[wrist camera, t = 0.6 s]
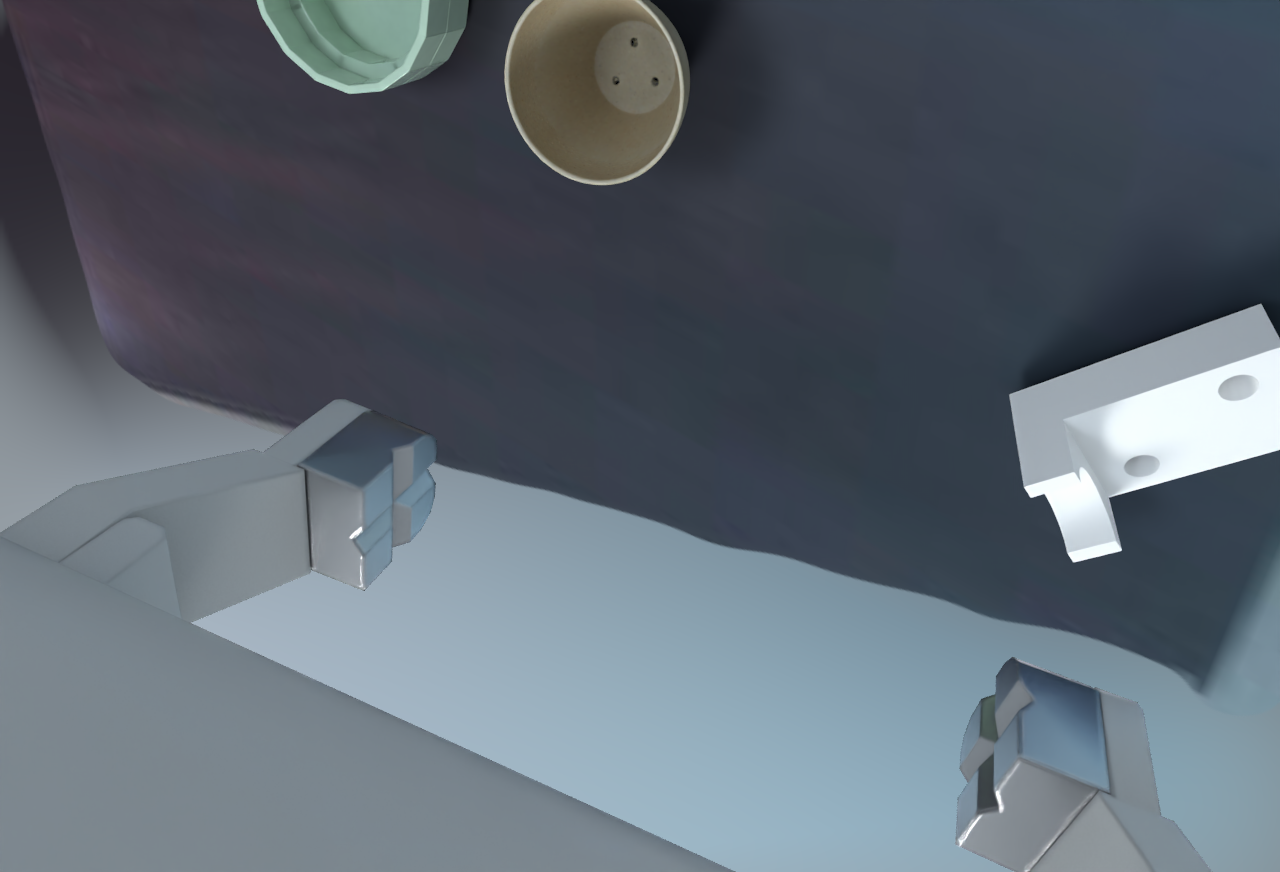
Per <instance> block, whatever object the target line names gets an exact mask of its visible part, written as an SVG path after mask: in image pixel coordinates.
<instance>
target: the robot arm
mask: <svg viewBox="0 0 1280 872" xmlns="http://www.w3.org/2000/svg"><path fill="white" fill-rule="evenodd" d="M436 459H437V440H436V439H435V438H434V437H433V435H432V434H430V433H427V432H425V431H422V430H420V429H417V428H415V427H413V426H410V425H408V424H405V423H403V422H400V421H398V420H396V419H393V418H391V417H388V416H386V415H383V414H381V413H379V412H376V411H374V410H373V411H371V410H369V409H367V408H365V407H362V406H360V405H357V404H355V403H353V402H350V401H348V400H345V399H339V400H334V401H332V402H331V403H329V404H328V405H326V406H325V407H324V408H322V409H321V410H320V411H318V412H317V413H316V414H314V415H313V416H312V417H310V418H309V419H307V420H306V421H305V422H303V423H302V424H301V425H299V426H298V427H297V428H295V429H294V430H293V431H291V432H290V433H288V434H287V435H286V436H284V437H283V438H282V439H280V440H279V441H278V442H276V443H275V444H274V445H272V446H271V447H270V448H268V449H267V450H265V451H264V452H263V453H262V452H260V451H257V450H255V449H252V450H247V451H242V452H237V453H232V454H227V455H222V456H217V457H213V458H208V459H203V460H198V461H193V462H189V463H183V464H178V465H174V466H169V467H164V468H159V469H154V470H149V471H145V472H140V473H135V474H130V475H125V476H120V477H115V478H110V479H105V480H101V481H96V482H91V483H86V484H82V485H76V486H74V487H72V488H71V489H69V490H68V491H66V492H64V493H63V494H61V495H60V496H58V497H56V498H55V499H53V500H52V501H50V502H49V503H47V504H45V505H44V506H42V507H40V508H39V509H37V510H36V511H34V512H32V513H31V514H30V515H28V516H26V517H25V518H23V519H21V520H20V521H18V522H17V523H15V524H14V525H12V526H10V527H9V528H7V529H5V530H4V531H2V532H1V533H0V872H735V871H732V870H730V869H728V868H726V867H724V866H721V865H719V864H717V863H715V862H713V861H710V860H708V859H706V858H704V857H702V856H700V855H697V854H695V853H693V852H691V851H689V850H686V849H684V848H682V847H680V846H677V845H676V844H673V843H671V842H669V841H666V840H664V839H662V838H660V837H658V836H656V835H654V834H651V833H649V832H647V831H645V830H643V829H640V828H638V827H636V826H634V825H632V824H630V823H627V822H625V821H623V820H621V819H618V818H616V817H614V816H612V815H610V814H608V813H605V812H603V811H601V810H599V809H597V808H594V807H592V806H590V805H588V804H586V803H583V802H581V801H579V800H577V799H575V798H572V797H570V796H568V795H566V794H564V793H562V792H559V791H557V790H555V789H553V788H551V787H549V786H546V785H544V784H542V783H540V782H538V781H535V780H533V779H531V778H529V777H526V776H524V775H522V774H520V773H518V772H516V771H514V770H511V769H509V768H507V767H505V766H502V765H500V764H498V763H496V762H494V761H492V760H489V759H487V758H485V757H483V756H481V755H478V754H476V753H474V752H472V751H470V750H467V749H465V748H463V747H461V746H459V745H457V744H454V743H452V742H450V741H448V740H445V739H443V738H441V737H439V736H437V735H434V734H432V733H430V732H428V731H426V730H424V729H422V728H419V727H417V726H415V725H413V724H411V723H408V722H406V721H404V720H402V719H400V718H397V717H395V716H393V715H391V714H389V713H386V712H384V711H382V710H380V709H378V708H375V707H373V706H371V705H369V704H367V703H365V702H362V701H360V700H358V699H356V698H353V697H351V696H349V695H347V694H345V693H342V692H341V691H338V690H336V689H334V688H332V687H329V686H327V685H325V684H323V683H321V682H319V681H316V680H314V679H312V678H310V677H308V676H305V675H303V674H301V673H299V672H297V671H295V670H292V669H290V668H288V667H286V666H283V665H281V664H279V663H277V662H275V661H273V660H270V659H268V658H266V657H264V656H261V655H259V654H257V653H255V652H253V651H251V650H248V649H246V648H244V647H242V646H240V645H237V644H235V643H233V642H231V641H229V640H227V639H224V638H222V637H220V636H218V635H216V634H213V633H211V632H209V631H207V630H205V629H202V628H200V627H198V626H196V625H193V624H192V623H191V622H193V621H196V620H198V619H201V618H203V617H206V616H208V615H211V614H213V613H215V612H218V611H220V610H223V609H225V608H227V607H230V606H232V605H235V604H237V603H239V602H242V601H244V600H247V599H249V598H252V597H254V596H256V595H259V594H261V593H264V592H266V591H268V590H271V589H273V588H276V587H278V586H281V585H283V584H285V583H288V582H290V581H293V580H295V579H298V578H300V577H302V576H305V575H307V574H309V573H310V572H311V570H312V571H315V572H318V573H320V574H323V575H325V576H328V577H330V578H333V579H335V580H338V581H341V582H343V583H345V584H348V585H351V586H353V587H356V588H358V589H361V590H363V591H365V589H366V588H367V587H368V586H369V585H370V584H371V583H372V582H373V581H374V580H375V579H376V578H377V577H378V576H379V575H380V574H381V573H382V571H383V570H384V569H385V568H386V567H387V566H388V565H389V564H390V563H391V562H392V547H396V546H399V545H402V544H405V543H408V542H410V541H411V540H412V539H413V538H414V537H415V536H416V534H417V533H418V532H419V531H420V530H421V529H422V527H423V525H424V523H425V521H426V519H427V518H428V516H429V514H430V512H431V508H432V505H433V501H434V497H435V484H436V483H435V482H434V480H433V478H432V476H431V474H430V473H429V470H428V469H427V468H428V467H429V466H430V465H431V464H432V463H433V462H434V461H435V460H436ZM960 770H961V772H962V774H963V775H964V777H965V779H966V780H967V782H968V784H967V785H966V787H965V788H964V790H963V791H962V793H961V794H960V796H959V797H958V803H957V823H956V842H955V844H956V845H958V846H960V847H962V848H964V849H966V850H969V851H971V852H973V853H975V854H977V855H979V856H982V857H984V858H986V859H988V860H990V861H993V862H995V863H997V864H999V865H1001V866H1004V867H1006V868H1008V869H1010V870H1012V871H1014V872H1212V871H1211V869H1210V868H1209V867H1208V865H1207V864H1206V863H1205V862H1204V860H1203V859H1202V858H1201V856H1200V855H1199V854H1198V852H1197V851H1196V850H1195V848H1194V847H1193V846H1192V844H1191V843H1190V842H1189V840H1188V839H1187V838H1186V836H1185V835H1184V834H1183V832H1182V831H1181V830H1180V829H1179V827H1178V826H1177V824H1176V823H1175V822H1174V821H1172V820H1170V819H1167V818H1165V817H1162V816H1161V812H1160V806H1159V800H1158V794H1157V788H1156V783H1155V777H1154V771H1153V765H1152V759H1151V754H1150V748H1149V742H1148V736H1147V731H1146V724H1145V718H1144V713H1143V709H1142V708H1141V707H1140V705H1139V704H1138V703H1137V702H1135V701H1132V700H1129V699H1126V698H1124V697H1121V696H1118V695H1115V694H1112V693H1109V692H1107V691H1104V690H1101V689H1099V688H1096V687H1095V688H1092V687H1091V686H1088V685H1086V684H1083V683H1080V682H1078V681H1075V680H1072V679H1069V678H1067V677H1064V676H1062V675H1059V674H1057V673H1054V672H1051V671H1048V670H1046V669H1043V668H1040V667H1038V666H1035V665H1032V664H1030V663H1027V662H1024V661H1022V660H1019V659H1017V658H1014V657H1012V658H1011V659H1009V660H1008V661H1007V662H1006V663H1005V664H1004V665H1003V667H1002V668H1001V670H1000V671H999V673H998V674H997V676H996V693H995V695H992V696H989V697H986V698H983V699H981V701H980V702H979V704H978V706H977V707H976V709H975V711H974V713H973V714H972V716H971V719H970V721H969V724H968V726H967V729H966V732H965V734H964V738H963V743H962V749H961V757H960Z"/></svg>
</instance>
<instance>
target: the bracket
mask: <svg viewBox="0 0 1280 872" xmlns="http://www.w3.org/2000/svg"><path fill="white" fill-rule="evenodd" d="M1009 396H1010V403H1011V409H1012V415H1013V421H1014V428H1015V434H1016V440H1017V447H1018V453H1019V459H1020V465H1021V472H1022V478H1023V484H1024V488H1025V489H1026V491H1027V492H1028V494H1029V495H1030V497H1031V498H1032V497H1035V496H1039V495H1042V494H1045V495H1046V497H1047V499H1048V501H1049V502H1050V504H1051V507H1052V509H1053V511H1054V513H1055V516H1056V518H1057V521H1058V523H1059V526H1060V529H1061V532H1062V535H1063V538H1064V541H1065V545H1066V549H1067V553H1068V555H1069V556H1070V558H1071V559H1072V561H1073V562H1078V561H1082V560H1086V559H1090V558H1094V557H1098V556H1102V555H1106V554H1110V553H1114V552H1118V551H1122V549H1121V545H1120V541H1119V537H1118V533H1117V529H1116V525H1115V521H1114V517H1113V513H1112V509H1111V505H1110V501H1109V497H1112V496H1116V495H1119V494H1123V493H1126V492H1130V491H1133V490H1137V489H1141V488H1144V487H1148V486H1151V485H1155V484H1159V483H1162V482H1166V481H1169V480H1173V479H1177V478H1180V477H1184V476H1187V475H1191V474H1194V473H1198V472H1202V471H1205V470H1209V469H1212V468H1216V467H1220V466H1223V465H1227V464H1230V463H1234V462H1238V461H1241V460H1245V459H1248V458H1252V457H1255V456H1259V455H1263V454H1266V453H1270V452H1273V451H1277V450H1280V338H1279V337H1278V335H1277V333H1276V331H1275V329H1274V327H1273V325H1272V323H1271V321H1270V319H1269V318H1268V316H1267V314H1266V312H1265V310H1264V308H1263V306H1262V304H1259V305H1256V306H1253V307H1250V308H1247V309H1245V310H1242V311H1239V312H1236V313H1234V314H1231V315H1228V316H1225V317H1222V318H1220V319H1217V320H1214V321H1211V322H1209V323H1206V324H1203V325H1200V326H1198V327H1195V328H1192V329H1189V330H1186V331H1184V332H1181V333H1178V334H1175V335H1173V336H1170V337H1167V338H1164V339H1162V340H1159V341H1156V342H1153V343H1150V344H1148V345H1145V346H1142V347H1139V348H1137V349H1134V350H1131V351H1128V352H1125V353H1123V354H1120V355H1117V356H1114V357H1112V358H1109V359H1106V360H1103V361H1101V362H1098V363H1095V364H1092V365H1089V366H1087V367H1084V368H1081V369H1078V370H1076V371H1073V372H1070V373H1067V374H1065V375H1062V376H1059V377H1056V378H1053V379H1051V380H1048V381H1045V382H1042V383H1040V384H1037V385H1034V386H1031V387H1028V388H1026V389H1023V390H1020V391H1017V392H1015V393H1012V394H1009Z"/></svg>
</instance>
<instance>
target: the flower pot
mask: <svg viewBox="0 0 1280 872" xmlns="http://www.w3.org/2000/svg"><path fill="white" fill-rule="evenodd" d="M631 40H633V41H634V45H633V46H632V44H631ZM654 78H657V79H658V80H659V81H655V80H654ZM616 81H619V83H618V84H616ZM505 87H506V94H507V100H508V104H509V107H510V111H511V114H512V116H513V119H514V121H515V124H516V126H517V128H518V130H519V132H520V133H521V135H522V136H523V138H524V140H525V141H526V143H527V144H528V146H529V147H530V148H531V149H532V151H533V152H534V153H535V154H536V155H537V156H538V157H539V158H540V159H541V160H542V161H543V162H544V163H545V164H547V165H548V166H549V167H551V168H552V169H553V170H555V171H556V172H558V173H560V174H562V175H564V176H566V177H568V178H570V179H573V180H575V181H578V182H582V183H586V184H592V185H613V184H618V183H622V182H626V181H629V180H631V179H633V178H635V177H637V176H639V175H641V174H643V173H644V172H646V171H647V170H648V169H650V168H651V167H652V166H653V165H654V164H655V163H656V162H657V161H658V160H659V159H660V158H661V157H662V156H663V155H664V153H665V152H666V151H667V149H668V148H669V147H670V145H671V144H672V142H673V140H674V139H675V137H676V135H677V133H678V131H679V129H680V126H681V124H682V121H683V118H684V115H685V112H686V108H687V104H688V99H689V91H690V71H689V63H688V58H687V54H686V51H685V48H684V45H683V42H682V40H681V38H680V36H679V34H678V32H677V31H676V29H675V27H674V26H673V24H672V23H671V22H670V20H669V19H668V18H667V17H666V15H665V14H664V13H663V12H662V11H661V10H660V9H659V8H658V7H657V6H656V5H654V4H653V3H652V2H651V1H649V0H534V1H533V2H532V3H531V4H530V5H529V7H528V8H527V9H526V10H525V12H524V13H523V14H522V16H521V17H520V19H519V20H518V22H517V24H516V26H515V28H514V31H513V33H512V36H511V38H510V41H509V45H508V49H507V54H506V61H505Z"/></svg>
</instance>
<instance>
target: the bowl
mask: <svg viewBox="0 0 1280 872" xmlns="http://www.w3.org/2000/svg"><path fill="white" fill-rule="evenodd" d="M468 3H469V0H257V4H258V7H259V10H260V13H261V16H262V17H263V19H264V21H265V22H266V24H267V25H268V27H269V29H270V30H271V32H272V33H273V35H274V37H275V38H276V40H277V41H278V43H279V45H280V46H281V48H282V49H283V51H284V53H285V54H286V55H287V56H288V57H290V58H291V59H292V60H293V61H294V62H295V63H296V64H297V65H299V66H300V67H301V68H302V69H303V70H304V71H305V72H306V73H308V74H309V75H310V76H311V77H312V78H313V79H314V80H316V81H318V82H320V83H323V84H325V85H328V86H330V87H333V88H335V89H338V90H341V91H343V92H346V93H348V94H356V93H367V92H379V91H384V90H387V89H390V88H393V87H396V86H399V85H403V84H406V83H409V82H412V81H415V80H418V79H421V78H423V77H425V76H426V75H428V74H429V73H430V72H432V71H433V70H435V69H436V68H438V67H439V66H440V65H442V64H443V63H445V62H446V61H447V60H448V59H449V57H450V55H451V54H452V52H453V50H454V48H455V46H456V44H457V42H458V40H459V38H460V37H461V35H462V33H463V31H464V29H465V27H466V21H467V12H468Z"/></svg>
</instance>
